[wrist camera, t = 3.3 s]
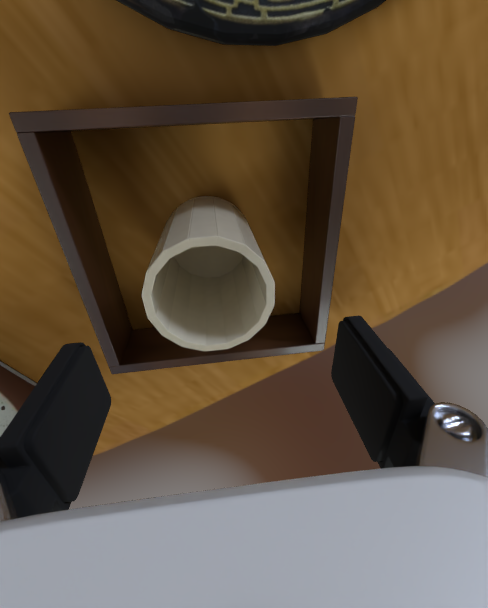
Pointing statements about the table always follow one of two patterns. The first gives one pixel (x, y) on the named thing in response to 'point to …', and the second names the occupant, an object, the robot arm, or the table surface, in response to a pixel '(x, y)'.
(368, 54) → the table surface
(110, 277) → the wooden box
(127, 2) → the decorative plate
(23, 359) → the table surface
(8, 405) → the food container
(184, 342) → the cup
